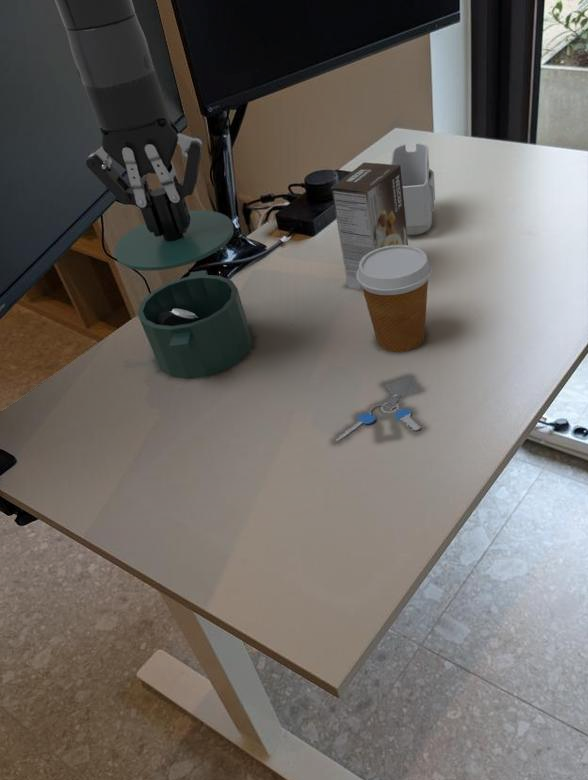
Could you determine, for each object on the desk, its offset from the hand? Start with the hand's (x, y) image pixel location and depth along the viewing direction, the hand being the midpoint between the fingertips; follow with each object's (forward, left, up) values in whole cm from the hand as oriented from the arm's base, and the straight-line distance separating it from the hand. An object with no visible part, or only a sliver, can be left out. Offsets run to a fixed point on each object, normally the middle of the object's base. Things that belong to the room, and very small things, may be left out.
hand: (171, 231), depth 82 cm
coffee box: (+24, +17, -19) cm, 35 cm away
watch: (-4, +4, -16) cm, 17 cm away
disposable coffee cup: (+26, -1, -19) cm, 33 cm away
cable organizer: (+31, +32, -19) cm, 48 cm away
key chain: (+24, -17, -19) cm, 35 cm away
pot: (-2, +3, -19) cm, 19 cm away
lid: (0, 0, -1) cm, 1 cm away
